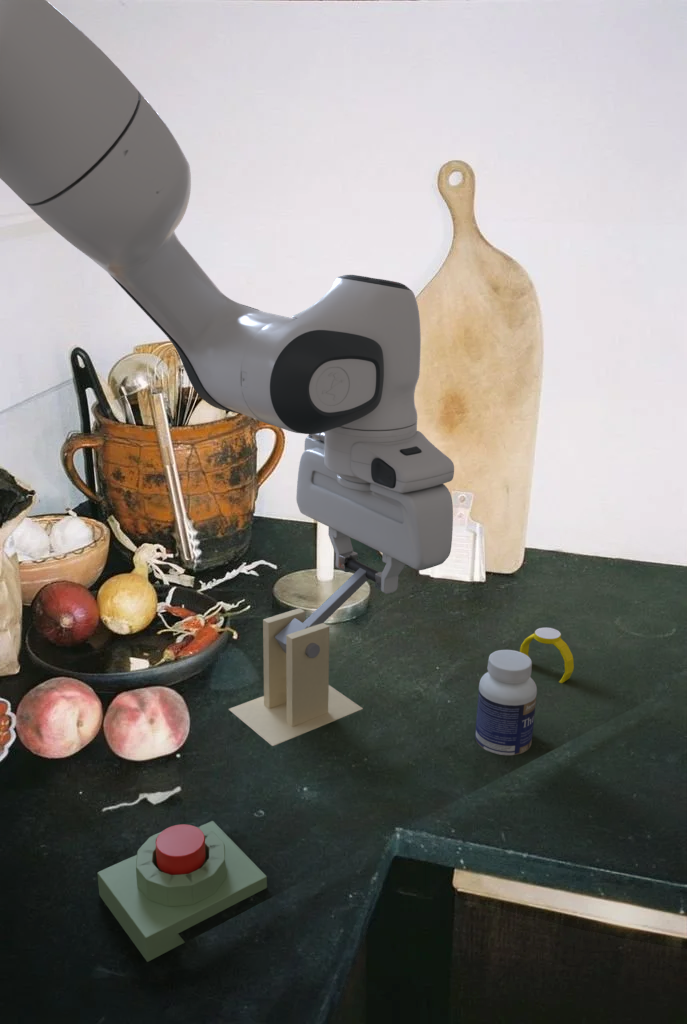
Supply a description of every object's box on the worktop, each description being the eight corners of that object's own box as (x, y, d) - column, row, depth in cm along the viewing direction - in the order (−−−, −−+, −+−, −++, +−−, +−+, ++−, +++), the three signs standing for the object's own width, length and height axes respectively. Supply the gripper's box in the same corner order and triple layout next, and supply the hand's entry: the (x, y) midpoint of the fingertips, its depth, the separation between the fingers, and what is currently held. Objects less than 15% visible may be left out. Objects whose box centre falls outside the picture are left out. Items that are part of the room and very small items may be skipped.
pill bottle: (529, 769, 87) (538, 677, 84) (471, 760, 88) (478, 669, 85) (532, 737, 92) (541, 649, 89) (477, 729, 93) (484, 642, 90)
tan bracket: (316, 685, 100) (317, 594, 97) (363, 718, 95) (366, 622, 91) (228, 719, 94) (225, 622, 90) (272, 757, 88) (271, 655, 84)
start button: (171, 883, 67) (169, 863, 67) (148, 855, 70) (146, 836, 69) (214, 862, 70) (213, 843, 69) (190, 836, 72) (189, 817, 72)
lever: (358, 567, 97) (350, 551, 96) (390, 584, 94) (381, 567, 92) (276, 646, 93) (266, 631, 92) (305, 667, 90) (295, 651, 88)
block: (147, 962, 65) (144, 917, 64) (99, 895, 71) (95, 852, 70) (267, 899, 71) (267, 856, 70) (213, 842, 77) (212, 801, 76)
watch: (575, 687, 101) (580, 638, 99) (561, 696, 99) (567, 647, 97) (527, 667, 105) (532, 619, 103) (513, 676, 103) (518, 628, 101)
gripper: (281, 429, 96) (282, 554, 101) (415, 481, 81) (408, 624, 85) (330, 420, 99) (329, 541, 104) (467, 468, 84) (458, 607, 89)
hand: (366, 579), depth 95 cm, fingers closed on lever, 5 cm apart
